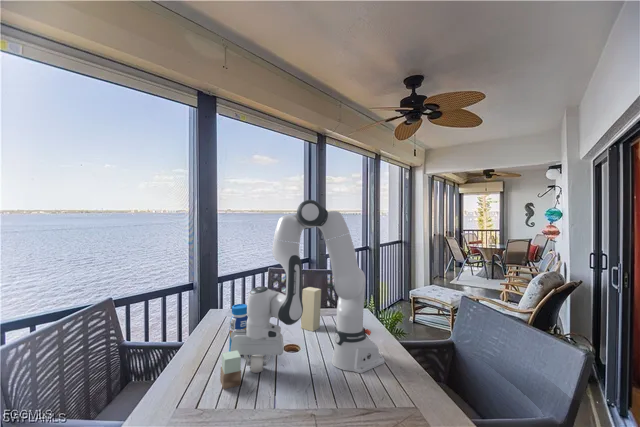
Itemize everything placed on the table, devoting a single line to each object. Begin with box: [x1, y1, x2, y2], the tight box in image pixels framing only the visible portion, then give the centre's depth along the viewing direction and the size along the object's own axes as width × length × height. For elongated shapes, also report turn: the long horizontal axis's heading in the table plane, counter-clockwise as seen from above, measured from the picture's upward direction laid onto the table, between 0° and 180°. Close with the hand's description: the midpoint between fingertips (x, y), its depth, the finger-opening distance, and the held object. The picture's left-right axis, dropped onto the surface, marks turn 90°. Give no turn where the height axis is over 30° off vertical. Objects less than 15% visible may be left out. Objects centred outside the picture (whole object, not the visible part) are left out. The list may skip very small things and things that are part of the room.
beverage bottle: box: [228, 303, 248, 352], centre depth 132 cm, size 8×8×20 cm
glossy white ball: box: [249, 355, 265, 374], centre depth 117 cm, size 5×5×5 cm
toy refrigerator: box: [300, 286, 322, 332], centre depth 161 cm, size 8×7×21 cm
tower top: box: [221, 350, 242, 374], centre depth 108 cm, size 6×6×5 cm
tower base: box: [219, 366, 242, 390], centre depth 108 cm, size 6×6×5 cm
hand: (257, 365), depth 117 cm, fingers closed on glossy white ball, 5 cm apart
